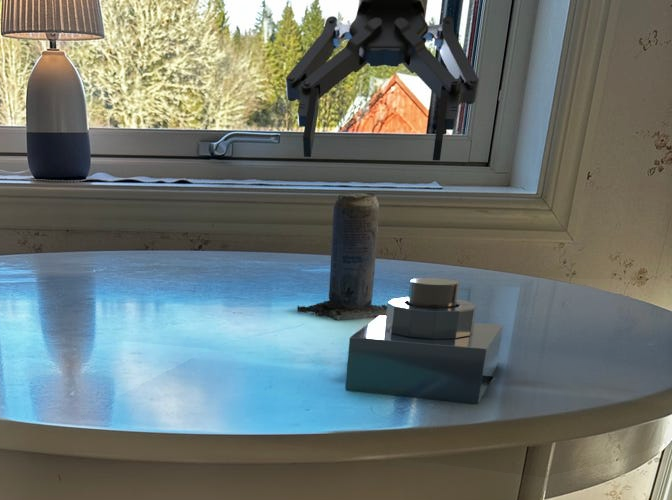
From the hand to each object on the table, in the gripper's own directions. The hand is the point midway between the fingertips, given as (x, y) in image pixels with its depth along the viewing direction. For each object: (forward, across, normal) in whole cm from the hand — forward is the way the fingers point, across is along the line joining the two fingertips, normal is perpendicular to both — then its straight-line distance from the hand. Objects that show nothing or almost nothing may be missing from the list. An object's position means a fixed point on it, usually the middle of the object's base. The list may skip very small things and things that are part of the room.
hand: (371, 149), depth 100 cm
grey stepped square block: (+36, -8, +15) cm, 40 cm away
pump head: (+32, -8, +19) cm, 38 cm away
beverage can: (+18, 0, -4) cm, 19 cm away
